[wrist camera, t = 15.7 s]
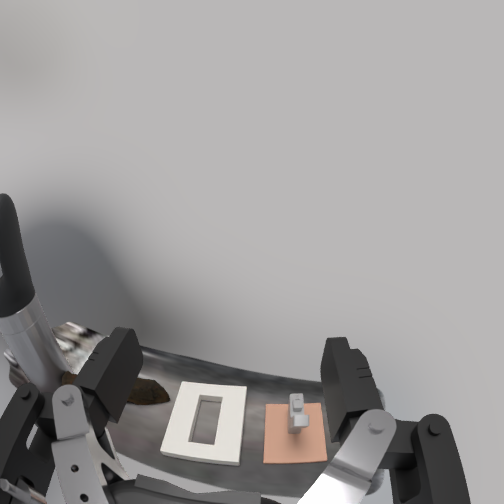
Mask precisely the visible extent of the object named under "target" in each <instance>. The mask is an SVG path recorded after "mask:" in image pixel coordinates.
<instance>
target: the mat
mask: <svg viewBox="0 0 504 504" xmlns="http://www.w3.org/2000/svg"><path fill="white" fill-rule="evenodd" d="M288 405H289V404H266V419H265V443H264V464H293V463H312V462H324V461H327V454H326V445H325V436H324V427H323V419H322V411H321V404H320V403H310V404H304V415H309V426H308V427H306V428H302V429H301V433H299V434H289V433H288Z"/></svg>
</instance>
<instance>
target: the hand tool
mask: <svg viewBox="0 0 504 504" xmlns="http://www.w3.org/2000/svg"><path fill="white" fill-rule="evenodd" d="M76 377H77V375H76V374H72V373H71V372H70V371H66V372H65V374H64V375H63V376H62V386H64V385H72V383H73V382H74V380H75V379H76ZM169 400H170V398H169V395H168V393H167V392H166V391H165V389H164V388H163V387H162V386H160V385H159V384H158V383H157V382H156V381H155V380H149V379H141V378H137V379H136V381H135V383H134V386H133V388H132V390H131V393H130V395H129V397H128V400H127V401H130V402H133V403H135V404H136V405H149V404H157V403H162V402H166V401H169Z"/></svg>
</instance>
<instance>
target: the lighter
mask: <svg viewBox="0 0 504 504" xmlns="http://www.w3.org/2000/svg"><path fill="white" fill-rule="evenodd" d="M308 426H309V415H304V402H303V394H290V398H289V405H288V433H289V434H299V433H301V429H302V428H306V427H308Z"/></svg>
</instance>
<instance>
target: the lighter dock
mask: <svg viewBox="0 0 504 504" xmlns="http://www.w3.org/2000/svg"><path fill="white" fill-rule="evenodd" d="M246 396H247V387H242V386H225V385H212V384H201V383H192V382H183V381H182V384H181V387H180V390H179V393H178V396H177V399H176V402H175V405H174V408H173V411H172V414H171V418H170V421H169V424H168V427H167V430H166V434H165V437H164V440H163V443H162V447H161V450H160V451H161V452H162V454H163V455H166V456H170V457H175V458H181V459H186V460H192V461H199V462H206V463H214V464H223V465H235V466H239V463H240V454H241V444H242V435H243V425H244V415H245V406H246ZM201 400H204V401H214V402H222V405H221V411H220V416H219V422H218V428H217V433H216V439H215V445H208V444H200V443H193V442H191V440H192V436H193V431H194V427H195V423H196V419H197V415H198V411H199V407H200V403H201Z"/></svg>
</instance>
